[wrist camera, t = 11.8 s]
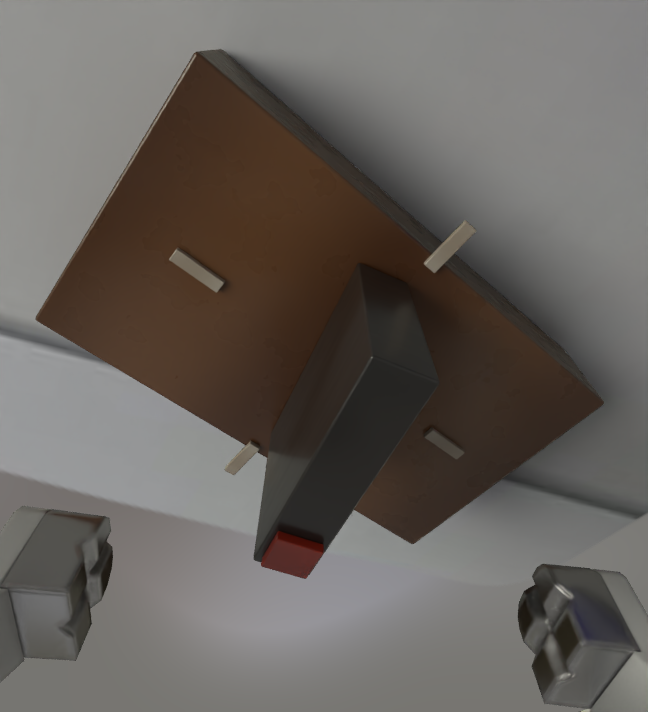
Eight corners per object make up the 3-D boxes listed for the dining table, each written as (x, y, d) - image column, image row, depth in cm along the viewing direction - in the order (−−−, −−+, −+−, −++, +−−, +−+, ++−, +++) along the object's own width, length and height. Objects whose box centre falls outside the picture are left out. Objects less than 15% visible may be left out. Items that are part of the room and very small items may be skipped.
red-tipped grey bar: (358, 261, 13) (372, 363, 9) (407, 282, 13) (444, 390, 9) (270, 433, 16) (251, 570, 12) (312, 448, 16) (308, 586, 12)
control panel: (593, 329, 17) (642, 382, 15) (383, 499, 21) (391, 565, 19) (245, 7, 13) (224, -1, 10) (63, 300, 17) (13, 350, 14)
